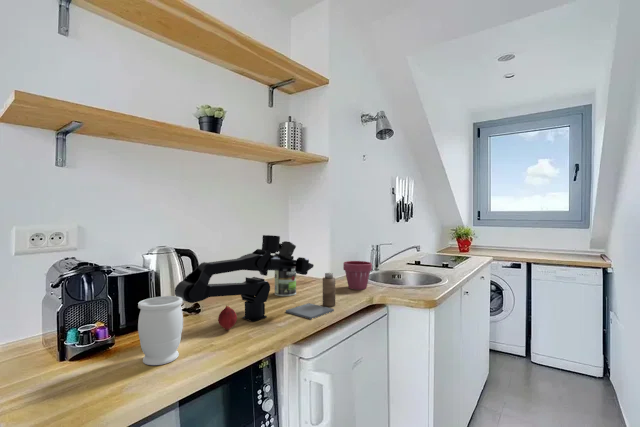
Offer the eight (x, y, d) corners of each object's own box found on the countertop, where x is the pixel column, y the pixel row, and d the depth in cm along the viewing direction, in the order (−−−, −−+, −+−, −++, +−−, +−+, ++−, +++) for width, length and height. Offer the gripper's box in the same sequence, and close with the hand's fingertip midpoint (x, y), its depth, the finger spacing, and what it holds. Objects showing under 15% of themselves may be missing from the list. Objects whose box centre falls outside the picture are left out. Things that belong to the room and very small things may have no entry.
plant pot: (368, 284, 171) (368, 260, 171) (374, 290, 157) (374, 264, 157) (341, 285, 170) (341, 260, 170) (345, 291, 156) (345, 264, 156)
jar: (132, 358, 83) (132, 300, 83) (174, 347, 91) (173, 293, 91) (145, 372, 76) (145, 308, 76) (189, 358, 83) (189, 300, 83)
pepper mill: (329, 307, 128) (329, 275, 128) (320, 305, 132) (319, 273, 132) (337, 305, 132) (337, 273, 132) (328, 302, 136) (328, 271, 136)
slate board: (311, 319, 114) (311, 317, 114) (285, 312, 122) (285, 310, 123) (333, 311, 124) (333, 309, 124) (309, 305, 132) (309, 303, 132)
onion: (240, 328, 105) (240, 304, 105) (227, 334, 100) (227, 308, 100) (227, 325, 108) (227, 301, 108) (214, 331, 103) (214, 306, 103)
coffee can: (301, 293, 153) (300, 263, 153) (285, 297, 144) (285, 266, 145) (285, 290, 159) (284, 261, 159) (269, 294, 151) (269, 264, 151)
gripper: (294, 243, 117) (323, 246, 128) (264, 240, 130) (293, 243, 141) (290, 274, 116) (320, 275, 127) (260, 267, 129) (290, 268, 140)
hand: (305, 264), depth 134 cm, fingers open, 9 cm apart
